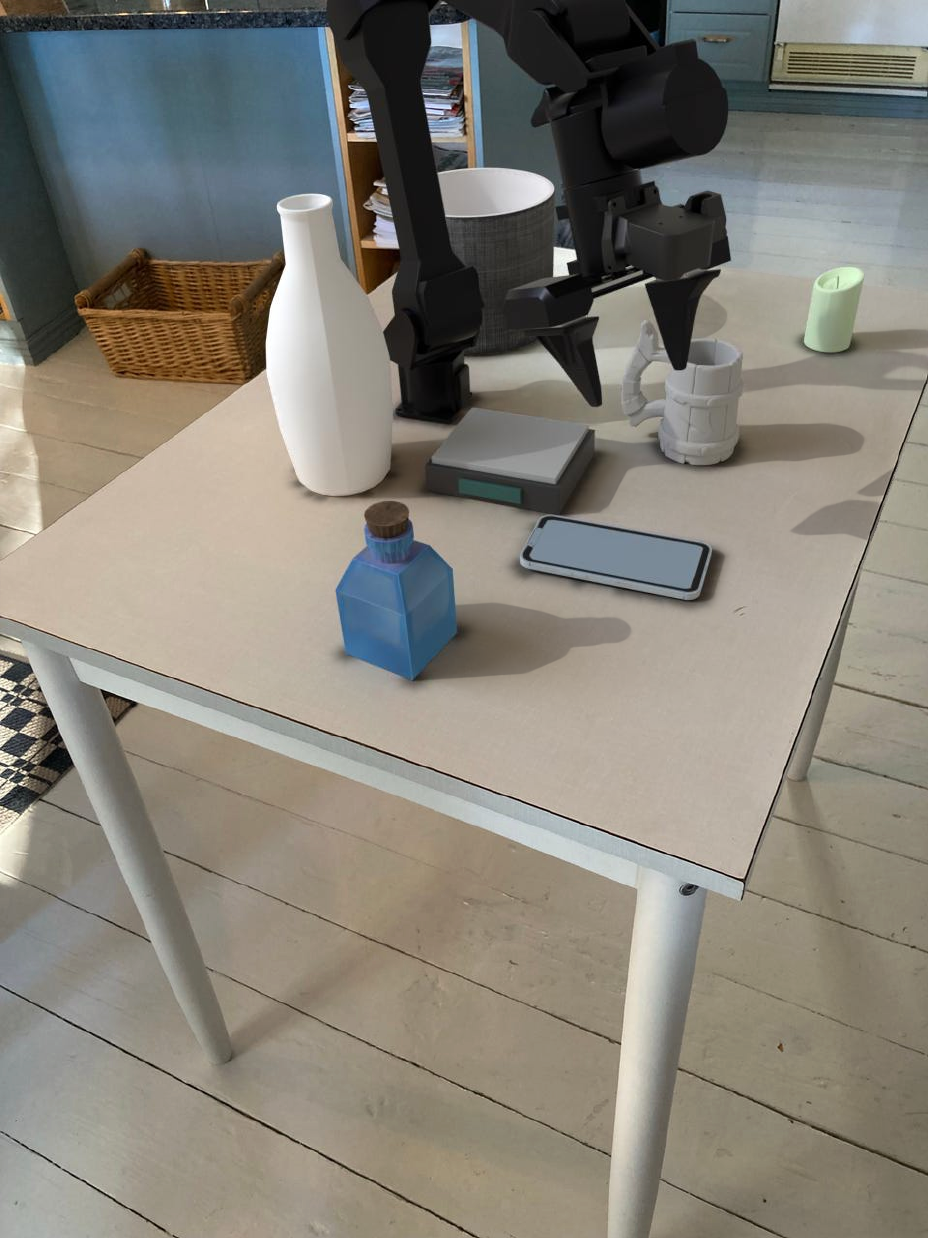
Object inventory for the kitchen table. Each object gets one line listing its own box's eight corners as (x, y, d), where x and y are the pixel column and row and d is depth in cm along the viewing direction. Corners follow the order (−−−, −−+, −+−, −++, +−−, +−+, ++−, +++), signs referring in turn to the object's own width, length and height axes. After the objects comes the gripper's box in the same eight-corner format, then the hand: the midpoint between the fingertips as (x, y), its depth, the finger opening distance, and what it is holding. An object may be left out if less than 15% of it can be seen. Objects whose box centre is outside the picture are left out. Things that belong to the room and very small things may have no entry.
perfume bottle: (412, 680, 73) (397, 548, 66) (345, 653, 76) (324, 523, 68) (457, 632, 77) (448, 502, 70) (392, 608, 80) (376, 480, 72)
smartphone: (698, 596, 78) (516, 560, 82) (697, 605, 79) (516, 569, 83) (714, 543, 83) (542, 512, 88) (712, 552, 84) (542, 521, 88)
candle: (817, 355, 111) (830, 283, 106) (795, 337, 115) (807, 267, 109) (858, 349, 112) (873, 277, 106) (835, 331, 115) (849, 261, 110)
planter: (518, 366, 112) (516, 224, 102) (381, 343, 119) (367, 207, 109) (574, 306, 125) (577, 174, 114) (447, 289, 131) (440, 162, 121)
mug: (726, 474, 93) (742, 353, 85) (605, 451, 97) (611, 334, 90) (745, 435, 98) (762, 319, 91) (630, 415, 102) (637, 302, 95)
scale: (425, 493, 93) (422, 460, 91) (470, 435, 101) (469, 403, 99) (557, 517, 89) (558, 484, 87) (594, 454, 97) (595, 422, 95)
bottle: (421, 455, 98) (397, 186, 82) (366, 514, 91) (328, 230, 75) (324, 435, 102) (283, 176, 86) (264, 491, 95) (207, 217, 78)
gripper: (576, 192, 62) (622, 431, 68) (773, 132, 70) (799, 351, 76) (476, 214, 71) (525, 424, 77) (662, 159, 79) (692, 353, 85)
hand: (639, 387), depth 79 cm, fingers open, 9 cm apart
